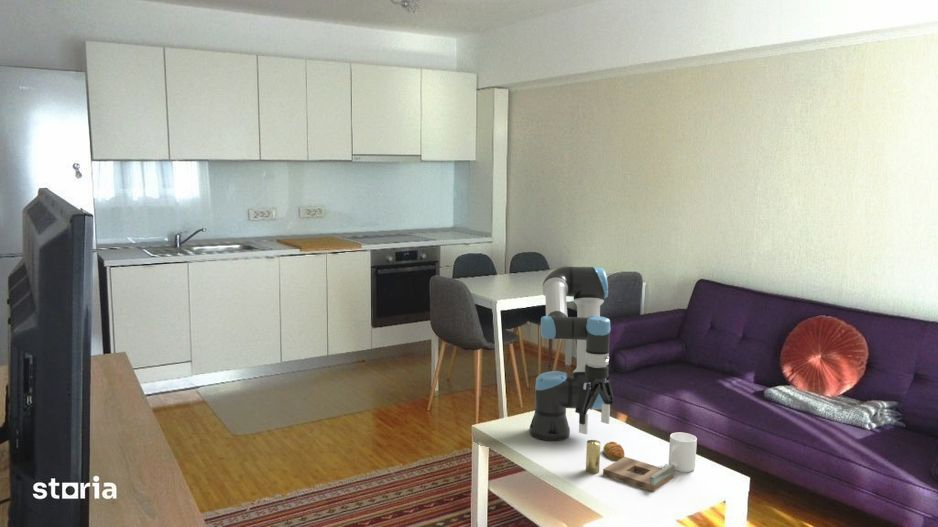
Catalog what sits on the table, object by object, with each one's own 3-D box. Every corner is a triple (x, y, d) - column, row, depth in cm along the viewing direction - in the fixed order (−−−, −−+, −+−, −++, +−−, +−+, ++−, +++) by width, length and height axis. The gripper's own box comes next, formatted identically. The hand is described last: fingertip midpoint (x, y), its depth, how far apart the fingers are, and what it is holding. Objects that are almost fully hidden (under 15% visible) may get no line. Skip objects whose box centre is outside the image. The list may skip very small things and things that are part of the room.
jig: (602, 474, 233) (603, 461, 233) (624, 462, 244) (625, 449, 243) (653, 491, 222) (654, 478, 221) (673, 477, 232) (674, 464, 231)
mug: (657, 469, 239) (659, 438, 237) (677, 460, 246) (679, 430, 245) (679, 477, 232) (681, 446, 231) (700, 468, 240) (701, 437, 239)
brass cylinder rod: (583, 471, 236) (584, 442, 235) (590, 467, 239) (591, 438, 238) (594, 475, 233) (595, 445, 232) (601, 471, 236) (602, 442, 235)
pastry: (629, 461, 245) (629, 450, 245) (610, 462, 244) (610, 451, 244) (619, 450, 255) (619, 440, 254) (601, 451, 254) (601, 441, 253)
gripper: (586, 374, 220) (583, 440, 222) (626, 359, 238) (623, 421, 241) (565, 369, 224) (563, 434, 227) (606, 355, 243) (604, 416, 246)
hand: (594, 427), depth 234 cm, fingers open, 13 cm apart
